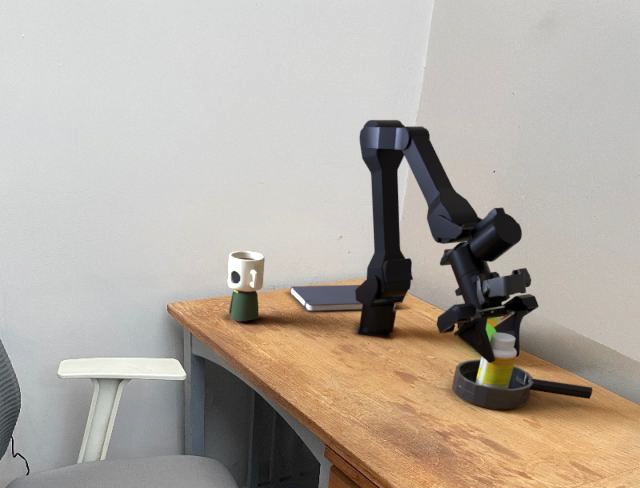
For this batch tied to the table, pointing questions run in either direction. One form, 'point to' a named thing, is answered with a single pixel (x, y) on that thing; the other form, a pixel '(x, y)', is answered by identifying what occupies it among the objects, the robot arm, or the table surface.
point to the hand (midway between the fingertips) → (504, 359)
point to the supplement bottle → (498, 362)
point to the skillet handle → (562, 388)
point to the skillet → (491, 388)
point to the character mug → (245, 284)
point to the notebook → (327, 297)
